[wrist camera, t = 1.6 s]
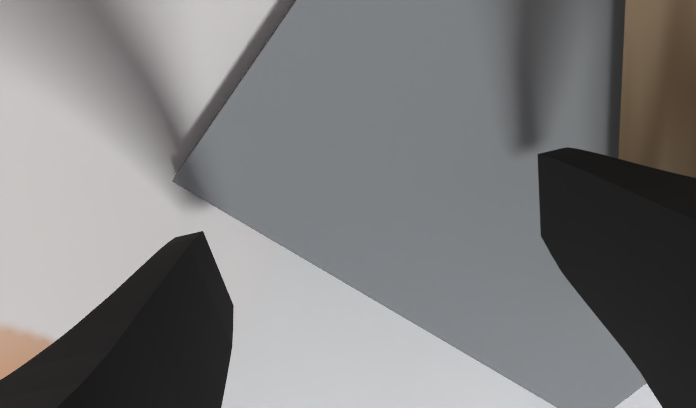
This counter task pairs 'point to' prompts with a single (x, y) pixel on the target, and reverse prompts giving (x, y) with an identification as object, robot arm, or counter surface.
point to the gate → (659, 85)
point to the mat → (432, 168)
